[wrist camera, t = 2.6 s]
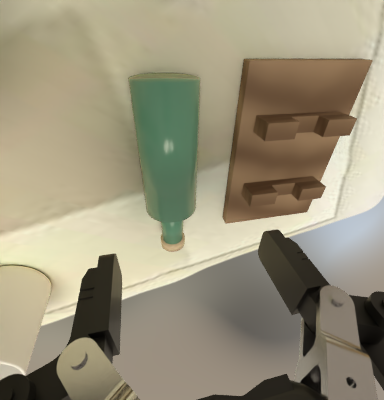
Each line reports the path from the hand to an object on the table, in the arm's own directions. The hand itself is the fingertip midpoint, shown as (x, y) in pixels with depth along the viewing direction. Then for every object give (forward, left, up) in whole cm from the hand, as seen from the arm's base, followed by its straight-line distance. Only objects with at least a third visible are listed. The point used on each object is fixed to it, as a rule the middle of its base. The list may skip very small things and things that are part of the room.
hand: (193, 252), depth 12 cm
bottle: (+2, 0, -13) cm, 13 cm away
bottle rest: (+1, +13, -13) cm, 19 cm away
